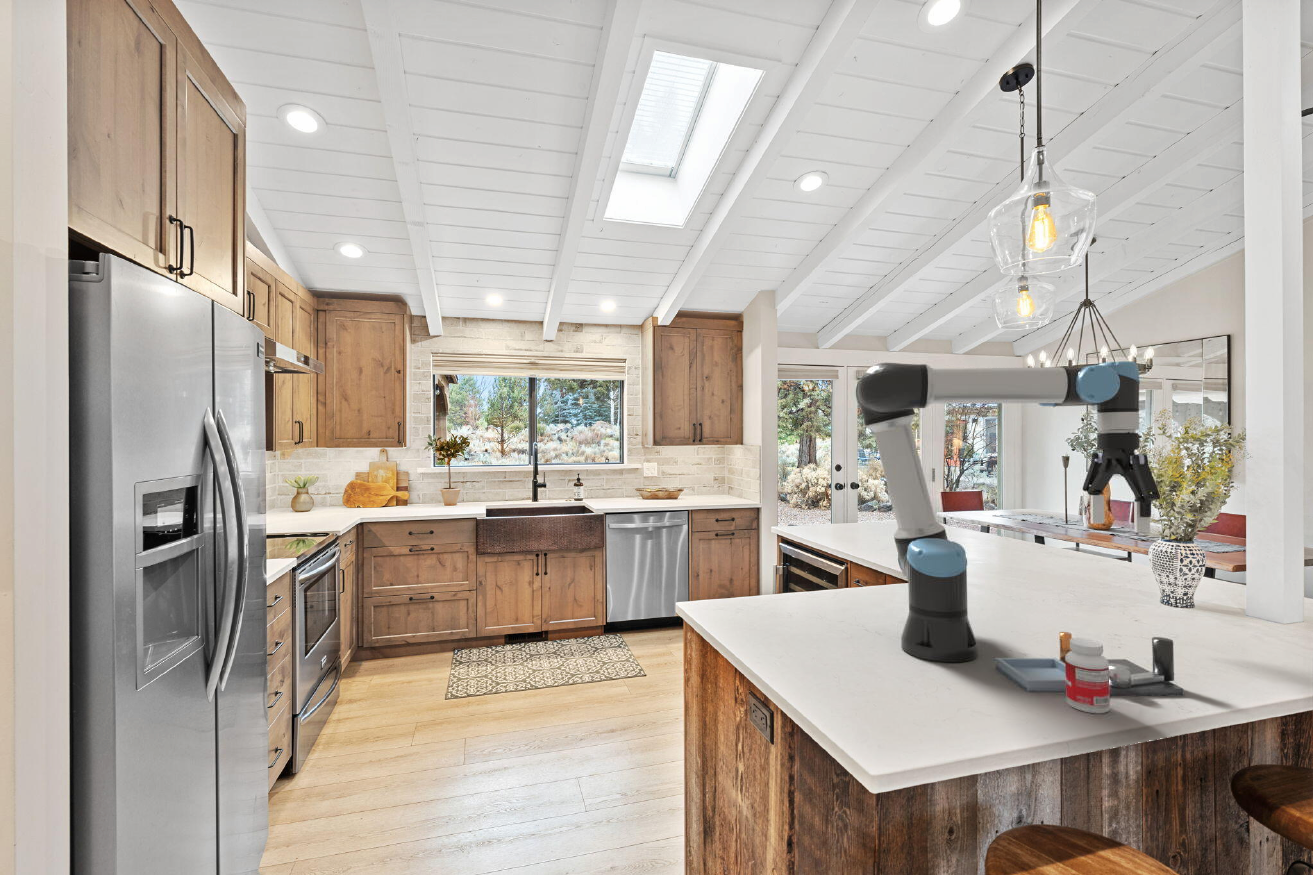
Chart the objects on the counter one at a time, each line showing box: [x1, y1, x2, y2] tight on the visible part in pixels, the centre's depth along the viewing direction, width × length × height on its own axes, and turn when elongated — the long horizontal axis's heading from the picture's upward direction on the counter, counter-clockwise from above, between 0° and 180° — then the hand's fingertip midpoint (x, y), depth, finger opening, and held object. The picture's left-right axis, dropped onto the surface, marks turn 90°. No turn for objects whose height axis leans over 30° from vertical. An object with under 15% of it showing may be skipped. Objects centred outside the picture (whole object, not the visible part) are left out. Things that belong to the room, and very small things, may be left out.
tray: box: [995, 657, 1066, 693], centre depth 118 cm, size 12×12×2 cm
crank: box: [1109, 636, 1175, 688], centre depth 112 cm, size 13×4×7 cm, turn 102°
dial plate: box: [1058, 631, 1184, 697], centre depth 117 cm, size 14×14×7 cm
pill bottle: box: [1065, 637, 1111, 714], centre depth 106 cm, size 6×6×11 cm
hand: (1118, 527), depth 137 cm, fingers open, 13 cm apart
